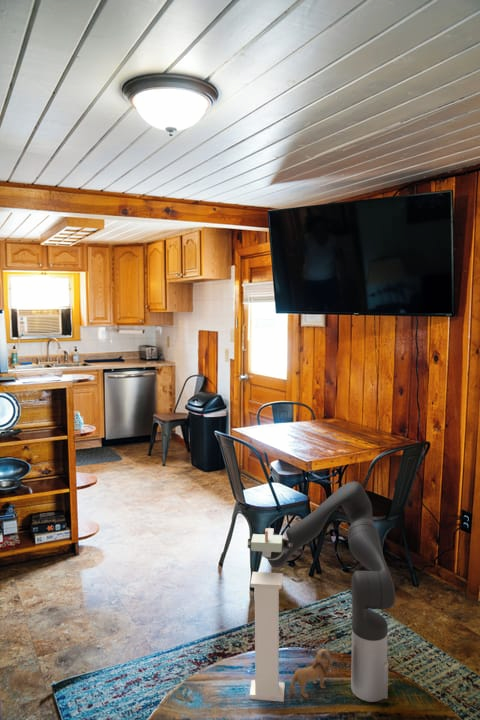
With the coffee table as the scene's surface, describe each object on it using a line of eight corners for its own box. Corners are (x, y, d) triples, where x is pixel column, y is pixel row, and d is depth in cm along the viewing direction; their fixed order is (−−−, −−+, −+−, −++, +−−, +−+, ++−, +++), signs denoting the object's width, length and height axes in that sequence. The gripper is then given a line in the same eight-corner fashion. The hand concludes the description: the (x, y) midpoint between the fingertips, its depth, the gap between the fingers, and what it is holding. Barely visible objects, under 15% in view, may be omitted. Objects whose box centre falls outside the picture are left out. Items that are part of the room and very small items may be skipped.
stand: (284, 685, 148) (284, 573, 145) (283, 702, 143) (283, 585, 139) (251, 683, 150) (250, 571, 146) (249, 699, 144) (248, 583, 140)
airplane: (283, 534, 158) (283, 510, 157) (281, 558, 143) (281, 532, 143) (256, 533, 159) (256, 509, 158) (251, 557, 144) (251, 531, 144)
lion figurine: (320, 671, 154) (321, 642, 153) (335, 682, 150) (335, 651, 149) (283, 696, 145) (283, 665, 144) (297, 708, 141) (297, 675, 140)
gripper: (294, 560, 163) (292, 557, 147) (248, 558, 164) (242, 554, 149) (294, 534, 166) (293, 528, 150) (249, 532, 167) (243, 526, 152)
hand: (267, 541), depth 149 cm, fingers closed on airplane
